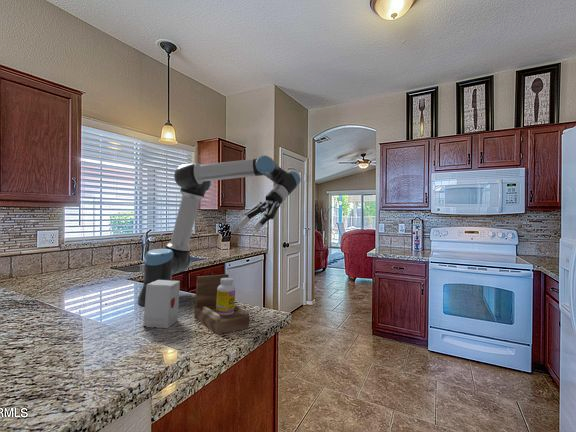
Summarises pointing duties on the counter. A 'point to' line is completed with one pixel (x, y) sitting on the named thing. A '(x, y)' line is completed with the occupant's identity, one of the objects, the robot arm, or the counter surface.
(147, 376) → the counter surface
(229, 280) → the supplement bottle
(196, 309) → the display stand
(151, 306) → the supplement box
